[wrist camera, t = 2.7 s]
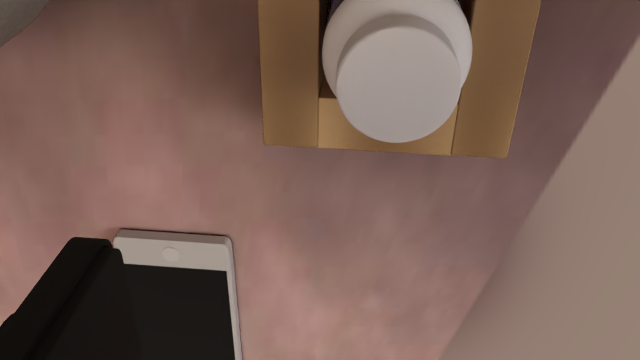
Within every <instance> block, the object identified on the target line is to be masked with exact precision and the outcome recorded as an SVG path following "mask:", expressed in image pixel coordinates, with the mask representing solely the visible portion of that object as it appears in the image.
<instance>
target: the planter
mask: <svg viewBox="0 0 640 360" xmlns="http://www.w3.org/2000/svg"><path fill="white" fill-rule="evenodd" d="M48 2H49V0H0V46H1V45H3V44H4V43H6V42H7V41H9V40H10V39H11V38H13V37H14V36H15V35H17V34H18V33H19V32H21V31H22V30H23V29H24V28H25V27H26V26H28V25H29V24H30V23H31V22H32V21H33V20H34V19H35V18H36V17H37V16H38V14H39V13H40V12H41V11H42V10H43V9H44V7H45V6H46V4H47V3H48Z"/></svg>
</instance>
